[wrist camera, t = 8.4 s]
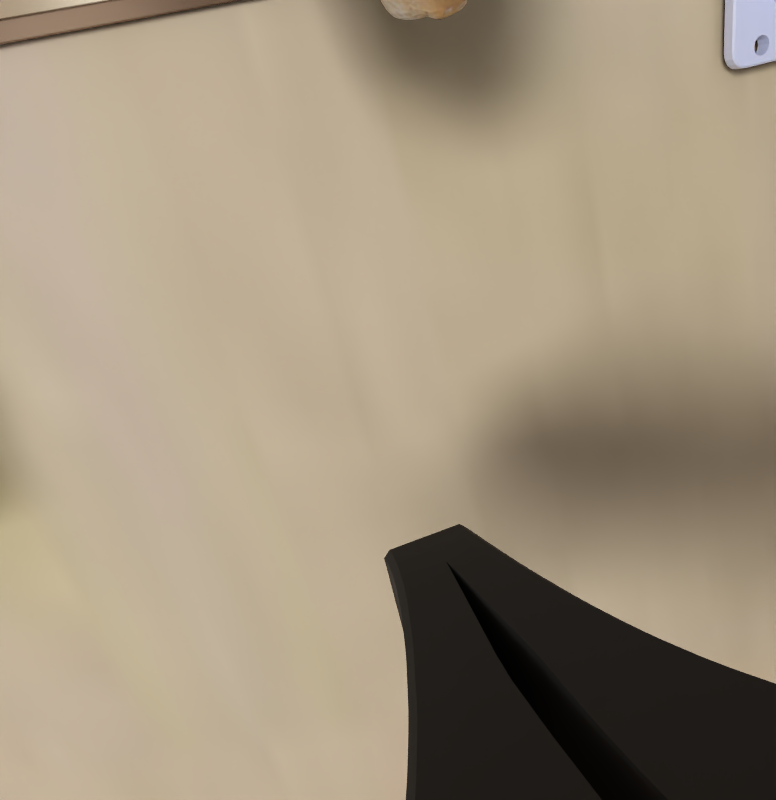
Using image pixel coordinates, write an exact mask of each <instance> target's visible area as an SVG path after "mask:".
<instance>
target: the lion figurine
mask: <svg viewBox="0 0 776 800" xmlns="http://www.w3.org/2000/svg"><path fill="white" fill-rule="evenodd" d="M380 1H381V2H382V4H383V5H384V7H385V8H386V9H387V11H388V12H389V13H390V14H391V15H392V16H394V17H395V18H399V19H403V20H416V19H420V18H424V17H431V18H434V19H440V20H441V19H443V18H446V17H448V16H451V15H452V14H454V13H456V12H458V11H460V10H461V9H462V8H463V7H464V6H465V4H466V3H467V1H468V0H380Z"/></svg>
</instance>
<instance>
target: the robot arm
mask: <svg viewBox="0 0 776 800" xmlns="http://www.w3.org/2000/svg"><path fill="white" fill-rule="evenodd" d="M756 40H757V42H758V48H757V51H756V53H755V49H754V45H755V41H756ZM724 58H725V62H726V64H727V66H728V67H730V68H731V69H742V68H747V67H752V66H756V65H760V64H764V63H768V62H772V61H776V0H725V29H724ZM384 559H385V563H386V566H387V570H388V574H389V578H390V582H391V585H392V589H393V593H394V597H395V601H396V604H397V608H398V612H399V616H400V620H401V623H402V627H403V631H404V639H405V648H406V660H407V683H408V709H409V736H408V772H407V791H406V800H776V684H775V683H772V682H769V681H766V680H763V679H760V678H758V677H755V676H752V675H749V674H746V673H743V672H740V671H737V670H735V669H732V668H729V667H727V666H724V665H721V664H719V663H716V662H714V661H711V660H708V659H706V658H703V657H701V656H698V655H696V654H694V653H691V652H689V651H687V650H684V649H682V648H680V647H677V646H675V645H673V644H670V643H668V642H666V641H663V640H661V639H659V638H657V637H655V636H652V635H650V634H648V633H646V632H644V631H642V630H640V629H638V628H636V627H633V626H631V625H629V624H627V623H625V622H623V621H621V620H619V619H617V618H615V617H614V616H612V615H610V614H608V613H606V612H604V611H602V610H600V609H598V608H596V607H594V606H592V605H590V604H589V603H587V602H585V601H583V600H581V599H580V598H578V597H576V596H574V595H572V594H571V593H569V592H567V591H565V590H564V589H562V588H560V587H559V586H557V585H555V584H553V583H552V582H550V581H548V580H547V579H545V578H543V577H542V576H540V575H538V574H536V573H535V572H533V571H532V570H530V569H528V568H527V567H525V566H523V565H522V564H520V563H519V562H517V561H516V560H514V559H513V558H511V557H509V556H508V555H506V554H505V553H503V552H502V551H500V550H499V549H497V548H496V547H494V546H493V545H491V544H490V543H488V542H487V541H485V540H484V539H482V538H481V537H479V536H478V535H476V534H475V533H473V532H472V531H471V530H469V529H468V528H466V527H464V526H462V525H460V524H458V525H456V526H453V527H450V528H448V529H445V530H442V531H440V532H437V533H434V534H431V535H429V536H426V537H423V538H421V539H418V540H415V541H413V542H410V543H407V544H405V545H402V546H399V547H396V548H394V549H391V550H389V552H388V553H387V555H386V556H385V558H384Z"/></svg>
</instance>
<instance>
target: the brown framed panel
mask: <svg viewBox="0 0 776 800" xmlns="http://www.w3.org/2000/svg"><path fill="white" fill-rule="evenodd" d="M234 1H239V0H0V45H1V44H6V43H11V42H17V41H22V40H28V39H33V38H39V37H44V36H49V35H55V34H60V33H66V32H71V31H77V30H82V29H87V28H93V27H98V26H104V25H109V24H115V23H120V22H125V21H131V20H136V19H142V18H147V17H153V16H158V15H163V14H169V13H174V12H180V11H185V10H191V9H196V8H201V7H207V6H212V5H218V4H223V3H229V2H234Z"/></svg>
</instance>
